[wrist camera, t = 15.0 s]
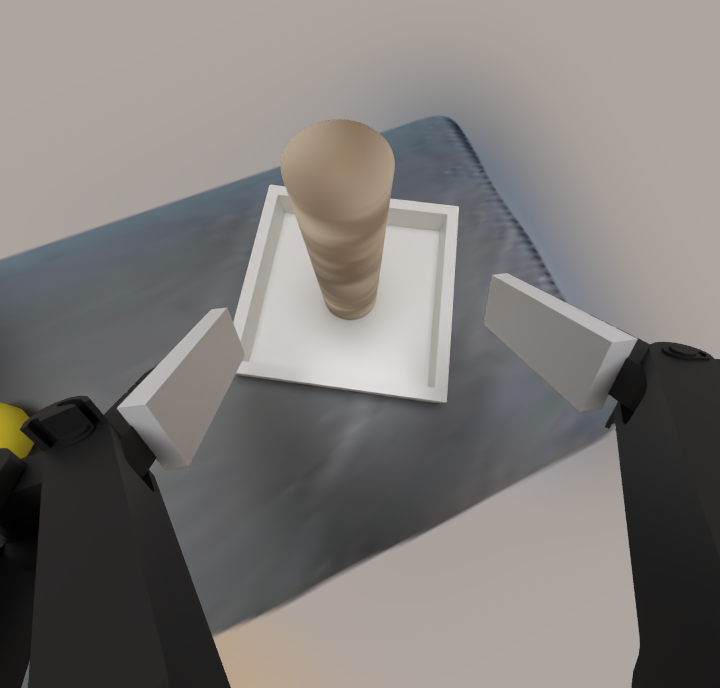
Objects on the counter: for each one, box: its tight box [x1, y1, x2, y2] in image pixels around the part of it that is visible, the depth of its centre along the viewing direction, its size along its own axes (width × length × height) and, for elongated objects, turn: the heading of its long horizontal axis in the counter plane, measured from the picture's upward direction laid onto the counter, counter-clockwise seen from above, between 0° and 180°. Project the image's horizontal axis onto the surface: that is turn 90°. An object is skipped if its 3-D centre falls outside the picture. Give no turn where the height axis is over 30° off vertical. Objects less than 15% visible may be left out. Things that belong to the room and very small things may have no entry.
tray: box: [233, 185, 459, 403], centre depth 24 cm, size 18×18×3 cm
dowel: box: [281, 120, 395, 320], centre depth 18 cm, size 5×5×14 cm
